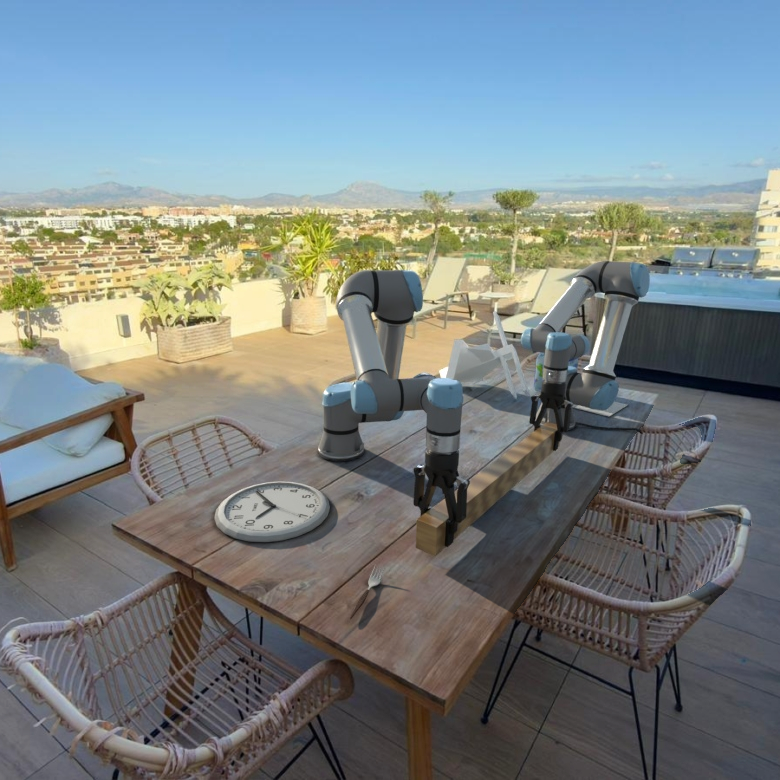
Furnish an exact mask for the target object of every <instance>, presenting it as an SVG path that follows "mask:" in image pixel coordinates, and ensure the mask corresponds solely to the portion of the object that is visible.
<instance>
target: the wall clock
mask: <svg viewBox="0 0 780 780" xmlns="http://www.w3.org/2000/svg"><path fill="white" fill-rule="evenodd" d="M330 509H331V506H330V501H329V499H328V497H327V496H326V495H325V493H323V492H322V491H320V490H318V488H315V487H313V486H312V485H311V486H310V485H308V484H305V483H300V482H295V481H294V482H292V481H269V482H263V483H262V482H261V483H258V484H253V485H250V486H246V487H244V488H242V489H240V490H238V491H236V492H233V493H232V494H230V495H229V496H227V498H224V500H222V501H221V502H220V504H219V505H218V507H216V509H215V513H214V518H213V519H214V522H215V525H216V527H217V528H218V529H219V530H220V531H221V532H222V533H223V534H225V535H226V536H229V537H231V538H233V539H235V540H236V539H237V540H240V541H245V542H250V543H251V542H252V543H271V542H280V541H285V540H289V539H293V538H297V537H300V536H302V535H304V534H308V532H311V531H313V530H314V529H316V528H317V527H319V526H320V525H322V523H323V522H324V521H325V520H326V519H327V518H328V516H329V513H330Z"/></svg>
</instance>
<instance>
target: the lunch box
mask: <svg viewBox="0 0 780 780" xmlns="http://www.w3.org/2000/svg"><path fill="white" fill-rule="evenodd" d="M544 361H545V353H541V352H538V355H537V357H536V360H535V369H534V381H533V389H534V391H535V392H539V393H541V386H542V381H543V368H544ZM568 366H573V367H576V368H577V369H578V366H579V358H575V359H571V360H569V364H568Z"/></svg>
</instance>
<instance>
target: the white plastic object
mask: <svg viewBox="0 0 780 780" xmlns="http://www.w3.org/2000/svg"><path fill="white" fill-rule="evenodd" d="M492 315H493V319H494V321H495V324H496V325H495V326H496V328H497V332H498V335H499V338H500V342H501V345H502V347H500V348H498V349H496V350H495V349H493V348H492V347H491V346H490V344H489V343H488V342H487V343H483V344H479V345H473V346H469V345H468V343H466V342H465V340H464V339H463V338H460V339H458V338H454V340H453V344H452V349H451V353H450V357H449V362H448V366H446V367H444V368H442V369H440V370H439V371H438V372H439V376H440V378H450V379H453V380H457V381H459V382H460V383H461V384H467V383H468V384H469V383H473V384H477V383H480V382H482V381H484V378H485V377H486V376H487V375H489V374H490V373H492V372H494V371H495V370H496V369H497V368H499V367H500V366H502V370H503V373H504V376H505V380H506V383H507V386H508V390H509V393H510V394H511V395H512V397H513V398H514V399H515V400H517V392H516V391H517V390H516V388H515V385H514V381H513V378H512V375H511V371H510V369H509V365H508V361H510V360H513V363H514V366H515V369H516V372H517V376H518V380H519V382H520V385H521V389H522V391H523V393H524V395H525V396H526V397H528V396H531V395H530V390H529V388H528V387H529V386H528V384H527V381H526V378H525V375H524V371H523V369H522V368H523V367H522V366H521V362H520V359H519V355H518V352H517V349H516V347H515V346H514V345H513V343H511V344H508V341H507V337H506V334H505V331H504V328H503V325H502V321H501V318H500V315H499V314H498V312H497V311H496V310H495V311H492Z"/></svg>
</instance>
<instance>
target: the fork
mask: <svg viewBox="0 0 780 780" xmlns="http://www.w3.org/2000/svg"><path fill="white" fill-rule="evenodd" d="M376 565H377V564H376V563H375V564H374V567H373V569H372V571H371V574H370V576H369V578H368V581H367V583H368V587H367V588H366V590H365V591H364V592H363V594H362V595H361V596H360V597H359V598H358V600H357V603H356V605H355V607H354V608H353V611H352V613H351V616H350V618H349V620H352V619H353V617H354V616H355V615H356V614H357V612H358V611H359V609H360V608H361V607H362V606H363V604H364V603H365V602H366V600H367V598H368V594H369V592H370V590H371V588H373V587H376V586H378V585H380V584H381V581H382V578H383V575H384V571H385V567H386V566H383V568H382V565H381V566H380V568H379V564H378V565H377V568H376ZM375 568H376V570H375ZM378 570H379V571H378ZM381 570H382V571H381Z"/></svg>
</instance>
